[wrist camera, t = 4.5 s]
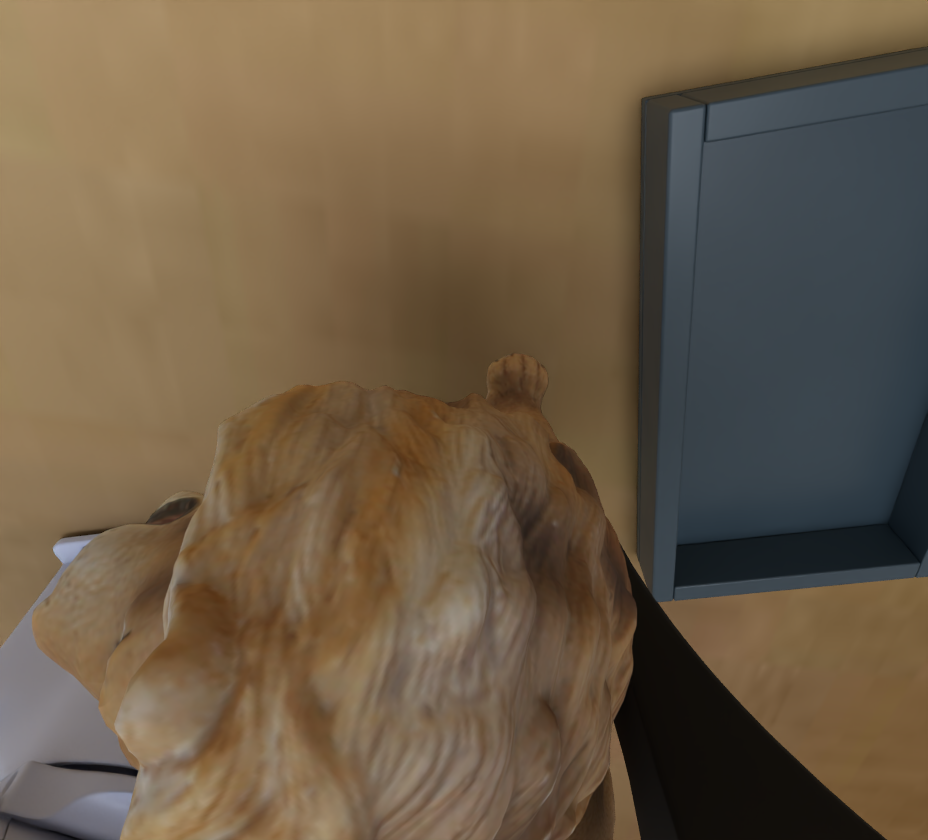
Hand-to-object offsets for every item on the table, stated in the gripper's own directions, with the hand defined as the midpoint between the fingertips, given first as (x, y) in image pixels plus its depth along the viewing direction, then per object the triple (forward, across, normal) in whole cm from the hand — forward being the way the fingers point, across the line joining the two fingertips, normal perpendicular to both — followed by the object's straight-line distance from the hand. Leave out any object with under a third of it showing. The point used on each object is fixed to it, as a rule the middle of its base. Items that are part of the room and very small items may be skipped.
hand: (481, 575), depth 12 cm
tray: (+8, -10, +1) cm, 13 cm away
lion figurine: (+2, 0, 0) cm, 2 cm away
